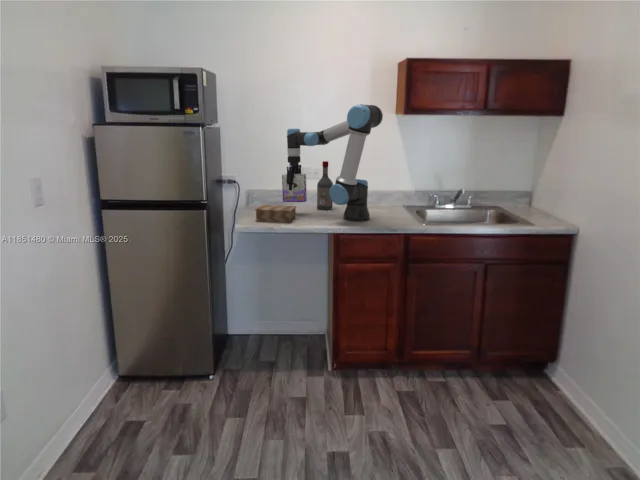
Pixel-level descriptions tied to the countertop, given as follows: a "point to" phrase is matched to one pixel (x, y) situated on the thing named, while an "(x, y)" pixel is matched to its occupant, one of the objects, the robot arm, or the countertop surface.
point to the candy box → (295, 188)
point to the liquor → (324, 190)
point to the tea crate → (275, 213)
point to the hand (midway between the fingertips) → (294, 194)
